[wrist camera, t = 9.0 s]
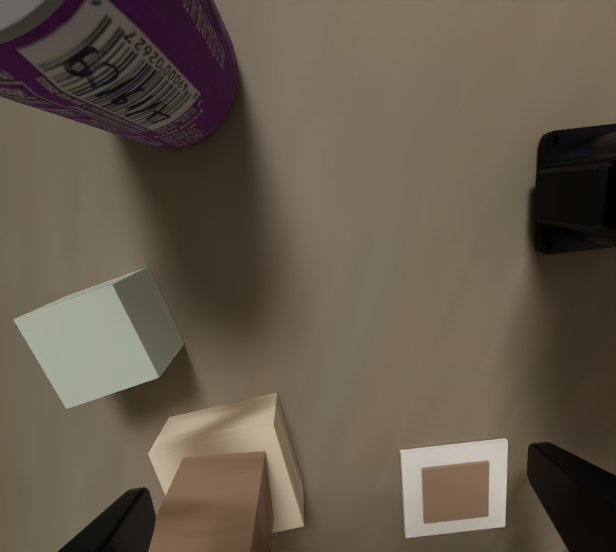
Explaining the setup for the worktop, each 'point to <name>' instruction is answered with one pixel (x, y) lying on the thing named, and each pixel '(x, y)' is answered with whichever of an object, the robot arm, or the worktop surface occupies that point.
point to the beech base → (237, 449)
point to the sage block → (103, 338)
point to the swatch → (454, 487)
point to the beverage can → (121, 65)
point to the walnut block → (217, 506)
